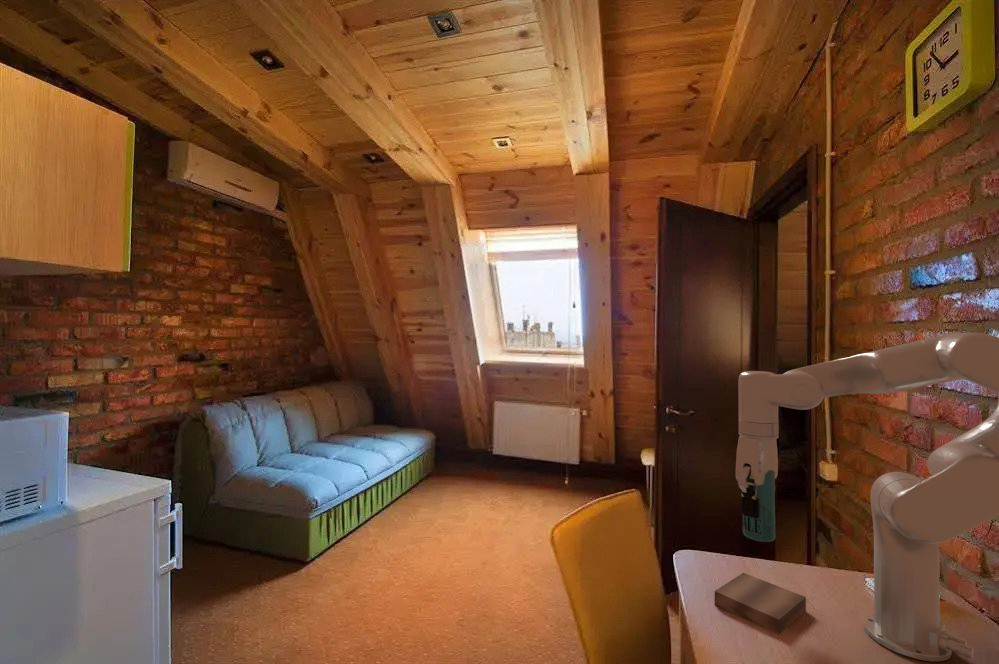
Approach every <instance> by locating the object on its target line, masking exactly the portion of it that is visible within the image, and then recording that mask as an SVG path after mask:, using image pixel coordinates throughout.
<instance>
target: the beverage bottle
mask: <svg viewBox="0 0 999 664" xmlns="http://www.w3.org/2000/svg"><path fill="white" fill-rule="evenodd" d="M748 482H751V483H754V482H755V480H751V479H749V480H748ZM748 487H749V488H751V490H752V491H753V488H754V487H753V486H748ZM775 493H776V482H775V472H774V471H773V470H769V471H768V472H767V473H766V475H765V480H764V484H763V485H760V486H759V490H758V495H757V499H759V518H757V519H756V518H752V517H749V516H745V515H743V514H742V525H741V530H742V534H743V535H744V537H746V538H747V539H750V540H752V541H756V542H761V543H771V542H774V541H775V539H776V535H777V534H776V533H777V532H776V531H777V528H776V525H777V524H776V518H777V517H776V505H775V504H776V503H775V502H776V501H775V499H776V498H775V497H776V496H775Z"/></svg>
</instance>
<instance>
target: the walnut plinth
mask: <svg viewBox="0 0 999 664" xmlns="http://www.w3.org/2000/svg"><path fill="white" fill-rule="evenodd" d="M714 606H716V607H718V608H720V609H722V610H724V611H726V612H729V613H731V614H734V615H735V616H737V617H740V618H742V619H744V620H746V621H748V622H750V623H752V624H754V625H757V626H759V627H761V628H763V629H765V630H767V631H770V632H771V633H773V634H776V635H778V636H781V634H782V633H784V631H785V630H787V629H788V628H789V627H790V626H791V625H792V624H793V623H794V622H795V621H797V620H798V619H799V618H800V617H801V616H802V615H803V614H805V613H806V611H807V597H806V596H804V595H801V594H799V593H797V592H794V591H791V590H790V589H786V588H784V587H782V586H779V585H776V584H773V583H771V582H768V581H766V580H764V579H761V578H758V577H756V576H753V575H751V574H747V573H745V572H742V573H740V574H739V575H737V576H736V577H734V578H732V579H731V580H730V581H728V582H727V583H725V584H723V585H722V586H720V587H719V588H717V589H716V590H714Z"/></svg>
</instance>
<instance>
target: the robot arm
mask: <svg viewBox="0 0 999 664" xmlns="http://www.w3.org/2000/svg"><path fill="white" fill-rule="evenodd" d="M959 380H964V381H968V382H970V383H973V384H976V385H977V386H980V387H983V388H984V389H987V390H990V391H992V392H995V393H997V394H998V397H999V337H998V336H996V335H992V334H988V333H985V332H984V333H982V332H950V333H947V334H942V335H937V336H933V337H928V338H925V339H920V340H915V341H910V342H906V343H903V344H898V345H894V346H890V347H886V348H885V347H884V348H881V349H876V350H872V351H868V352H863V353H857V354H856V355H855V354H854V355H851V356H849V357H842V358H838V359H833V360H830V361H825V362H820V363H816V364H811V365H807V366H803V367H798V368H794V369H791V370H788V371H786V372H784V373H779V374H777V373H774V372H771V371H763V370H761V371H760V370H746V371H743V372H741V373H740V374H739V376H738V435H739V436H738V441H737V447H736V458H735V459H736V460H735V480H736V481H737V486H738V488H739V490H740V492H741V494H740V496H741V500H742V502H741V506H742V507H741V510H742V511H741V514H742V516H743V515H745V516H749V517H752V518H756V519H757V518H759V499H757V495H758V490H759V486H760V485H763V484H764V480H765V475H766V473H767V472H768V471H769V470H773V471H774V472H775V483H776V481H777V477H778V474H779V473H778V472H779V457H778V456H779V455H778V445H777V443H778V442H777V439H779V428H780V427H779V407H783V408H788V409H795V410H800V411H802V410H803V411H804V410H811V409H814V408H816V407H818V406H819V405H820V404H821V403H822V402H823V400H824V398H825V399H826V398H831V397H836V396H837V397H838V396H843V395H850V394H851V395H852V394H869V395H871V394H872V395H882V394H884V395H885V394H892V393H893V394H894V393H898V392H905V391H909V390H912V389H917V388H924V387H928V386H932V385H940V384H944V383H945V384H946V383H948V382H953V381H959ZM997 402H998V403H997V405H996V407H995V410H994V412H993V413H992V414H991V415H989V417H988V418H987V419H985V420H984V421H982V422H980V423H979V424H978V425H976V426H974V427H973V428H972V429H969V430H967V431H966V432H964V433H962V434H961V435H959V436H957V437H956V438H954V439H952V440H951V441H950V440H949V442H947V443H945V444H943V445H941V446H939V447H938V448H936V449H935V450H933V452H931V453H930V455H929V456H928V459H927V461H926V467H927V470H928V473H929V474H930V476H929V477H927V478H925V479H921V478H920V477H918V476H916V475H914V474H911V473H906V472H904V471H903V472H902V471H891V472H886V473H884V474H882V475H880V476H879V477H878V478H876V480H875V481H874V482H873V484H872V486H871V487H870V488H871V489H870V506H871V507H870V508H871V517H872V524H873V526H872V527H873V529H872V530H873V583H874V584H873V587H874V588H873V593H874V594H873V596H874V597H873V601H874V603H873V605H874V613H873V614H874V615H870V616H867V617H866V618H865V620H864V630H865V631H866V633H867V634H868V636H870V638H871V639H873V640H874V641H875V642H877V643H878V644H880V645H881V646H883V647H885V648H887V649H889V650H890V651H893V652H895V653H896V654H897V653H898V654H899V655H902V656H905V657H909V658H912V659H916V660H921V661H926V662H935V663H937V662H944V661H947V660H949V659H950V658H951V657H952V654H953V653H952V652H954V653H957V654H958V655H960V656H963V657H965V658H967V659H969V660H973V659H974V647H972V646H970V645H967V644H968V643H967V639H964V638H961V637H958V636H955V635H952V634H950V633H949V632H948V631H946V623H944V622H942V621H941V618H940V617H941V616H940V615H941V608H940V607H941V606H940V604H941V603H940V602H941V601H940V597H941V596H940V565H941V564H940V546H939V545H940V544H941V543H945V542H947V541H951V540H952V539H953V540H954V539H955V538H957V537H959V536H961V535H963V534H965V533H967V532H970V531H971V530H974V529H975V528H977V527H979V526H981V525H983V524H984V523H986V522H988V521H991V520H993V519H994V518H997V517H998V516H999V399H998V400H997ZM749 479H751V480H755V482H754V483H751V482H748V480H749ZM748 486H753V487H754V488H753V491H752V490H751V488H749V487H748Z"/></svg>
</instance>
